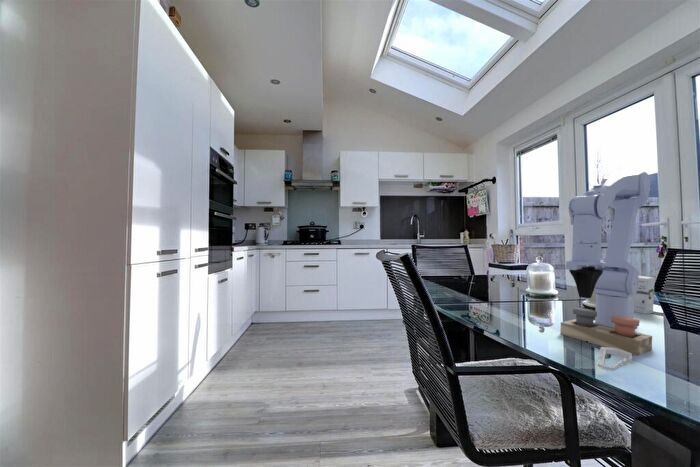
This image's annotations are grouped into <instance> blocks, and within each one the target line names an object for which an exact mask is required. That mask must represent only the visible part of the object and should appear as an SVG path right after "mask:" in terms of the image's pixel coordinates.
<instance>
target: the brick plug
mask: <svg viewBox="0 0 700 467" xmlns="http://www.w3.org/2000/svg"><path fill="white" fill-rule="evenodd" d="M611 322H613V323H615V334H617V335H621V336H625V337H635V331H636V330H635V329H636V327H635V326H638V327H639V326H640V320H639V319H637V318H630V317H624V316H611Z"/></svg>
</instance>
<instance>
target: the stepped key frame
mask: <svg viewBox="0 0 700 467" xmlns="http://www.w3.org/2000/svg"><path fill="white" fill-rule="evenodd" d="M599 349H600V350H599V354H598V360H597V366H598V367H599V368H602V369H604V370H609V371H610V370H611V371H616V369H618V368H619V367H622V365H624V366H625V365H627V363H633V355H632V353H629V352H626V351H624V350H621V349H618V348H610V347H604V346H600V348H599ZM606 355H614V356H615V355H616V356H620V357H623V360H621V359H620V360H618V362H615V364H614V365H613V366H611V367H608V366H605V365H604V364H605V360H606Z"/></svg>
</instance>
